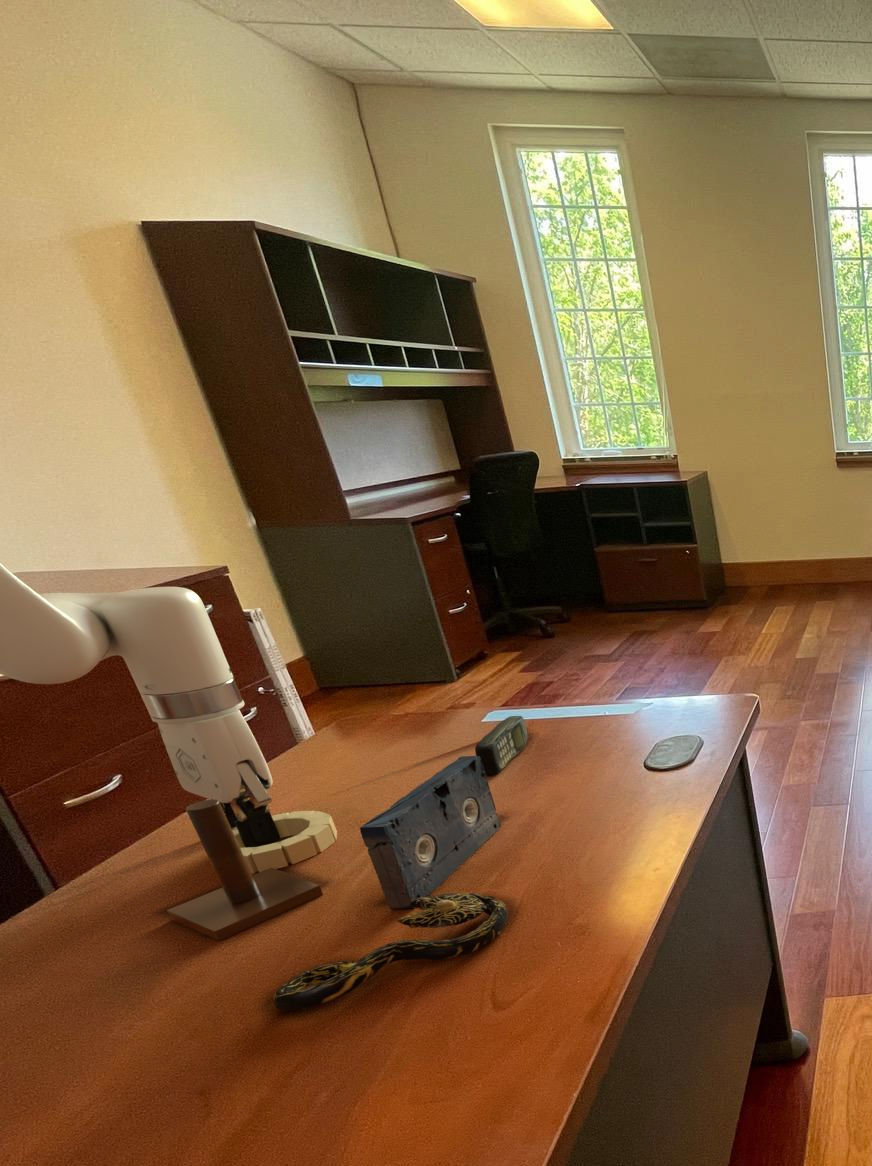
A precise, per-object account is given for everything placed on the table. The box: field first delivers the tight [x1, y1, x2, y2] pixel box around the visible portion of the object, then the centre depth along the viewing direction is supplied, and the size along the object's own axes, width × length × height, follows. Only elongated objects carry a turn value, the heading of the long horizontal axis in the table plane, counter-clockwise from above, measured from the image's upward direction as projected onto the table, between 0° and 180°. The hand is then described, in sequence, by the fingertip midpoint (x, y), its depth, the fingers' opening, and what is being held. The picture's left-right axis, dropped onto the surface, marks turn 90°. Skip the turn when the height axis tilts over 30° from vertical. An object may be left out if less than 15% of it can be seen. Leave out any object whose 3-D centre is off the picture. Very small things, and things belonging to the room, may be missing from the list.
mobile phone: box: [474, 715, 529, 776], centre depth 119 cm, size 5×3×15 cm
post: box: [166, 799, 324, 942], centre depth 81 cm, size 9×9×12 cm
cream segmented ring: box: [206, 810, 338, 875], centre depth 93 cm, size 11×11×2 cm
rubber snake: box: [273, 892, 509, 1012], centre depth 75 cm, size 18×5×10 cm
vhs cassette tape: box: [359, 755, 502, 910], centre depth 89 cm, size 18×3×10 cm, turn 4°
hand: (256, 841), depth 95 cm, fingers closed on cream segmented ring, 2 cm apart
